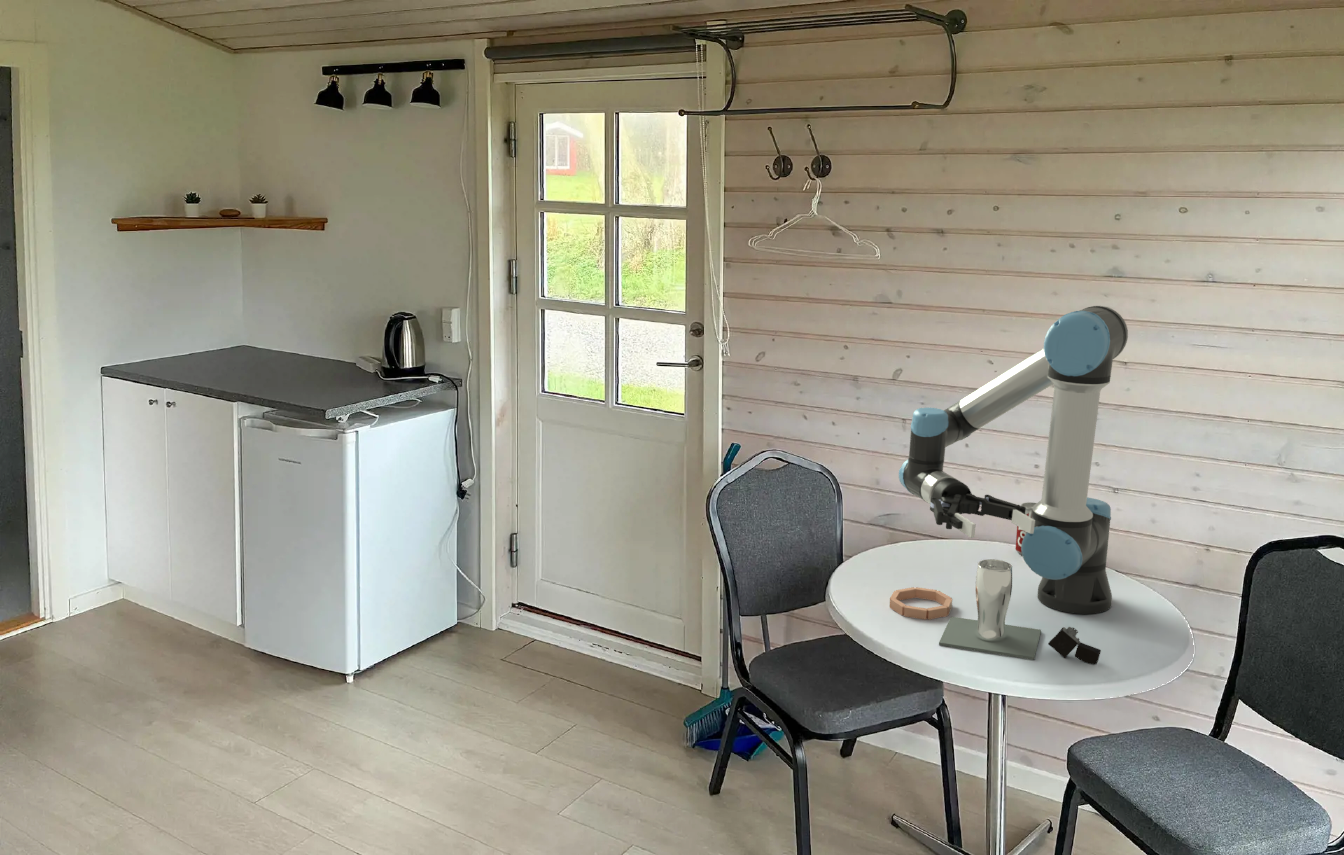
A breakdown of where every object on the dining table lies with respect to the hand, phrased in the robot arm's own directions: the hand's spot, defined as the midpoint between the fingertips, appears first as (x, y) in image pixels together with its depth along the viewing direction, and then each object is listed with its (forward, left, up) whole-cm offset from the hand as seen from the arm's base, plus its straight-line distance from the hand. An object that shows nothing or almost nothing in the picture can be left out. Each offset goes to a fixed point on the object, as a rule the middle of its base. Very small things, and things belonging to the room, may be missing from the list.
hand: (1003, 529), depth 220 cm
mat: (+1, -3, -24) cm, 24 cm away
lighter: (-15, 0, -24) cm, 28 cm away
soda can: (-1, -58, -24) cm, 63 cm away
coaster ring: (+17, -14, -24) cm, 33 cm away
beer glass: (+1, -3, -24) cm, 24 cm away
